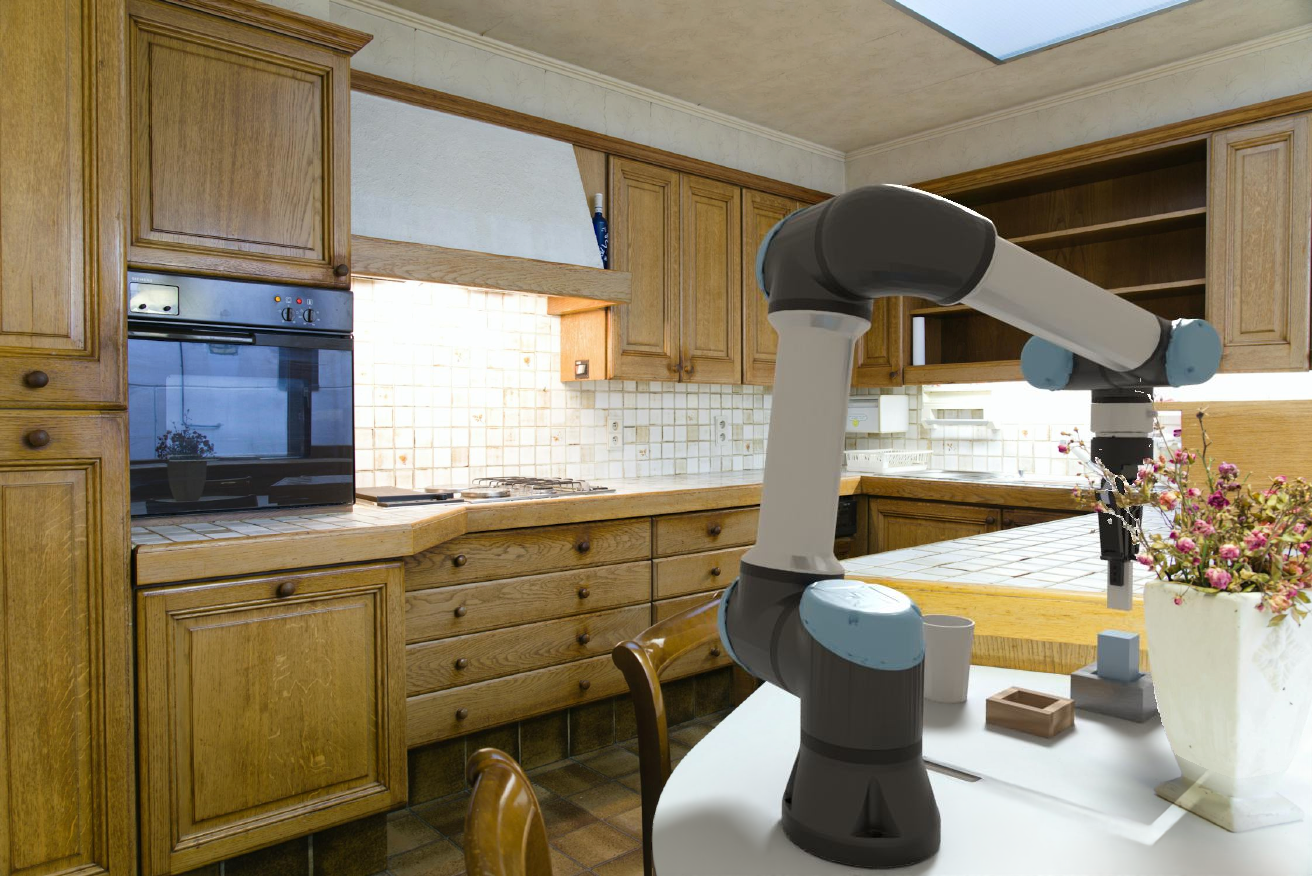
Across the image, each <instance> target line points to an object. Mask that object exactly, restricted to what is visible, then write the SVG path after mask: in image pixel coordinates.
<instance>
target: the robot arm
mask: <svg viewBox="0 0 1312 876" xmlns="http://www.w3.org/2000/svg"><path fill="white" fill-rule="evenodd" d="M755 275H756V282H757V285H758V287H759V290H761V291H762V293H763V297H764V299H765V301H766V302H767V303H768V310H767V317H766V319H767V321H768V323H769V324H770V326H771V327H773V329H774V330H775V331H776V334H777V335H778V339H777V340H778V341H777V350H776V358H775V359H776V361H775V370H774V378H773V385H772V387H773V388H772V396H771V404H770V406H771V407H770V414H769V415H770V416H769V423H768V431H767V433H768V434H767V443H766V451H765V460H764V470H763V477H762V488H761V496H760V497H761V499H760V506H759V515H758V525H757V532H756V533H757V534H756V542H755V543H754V545H753V547H751V548H750V549H748V550H747V551H746V552H745V553H744V554H742V555H741V558H740V566H739V573H738V574H739V575H738V576H737V577H735V578H734V579H733V580H732V583H730V585H729V586H727V587H726V588H725V589H724V591H723V594H722V596H721V598H720V601H719V603H718V608H717V619H716V620H717V629H718V630H717V631H718V633H719V638H720V640H721V643H722V645H723V647H724V649H725V650H726V652H727V654H728V655H729V657H730V658H732V659H733V661H734V662H736V663H737V664H738V665H739V666H741V667H742V668H743V670H745V671H746V672H748V673H749V674H750V675H752V676H753V677H755V678H757V679H760V680H762V681H764V682H765V681H766V682H768V683H769V684H771V685H773V686H775V687H778V688H779V689H781V690H783V691H785V692H787V693H789V694H791V695H793V696H795V697H797V698H799V699H800V702H799V703H800V705H799V707H800V711H799V712H800V714H799V717H800V718H799V720H800V722H799V724H800V726H799V731H800V733H799V734H800V736H799V741H800V742H799V748H798V751H797V754H796V757H795V760H794V763H793V764H792V765H793V766H792V768H791V770H790V775H789V776H788V780H787V783H786V787H785V790H784V792H783V794H782V799H781V821H780V822H781V827H782V829H783V832H784V833H785V834H786V836H787V838H788V839H789V840H791V842H793V843H794V844H796V845H797V846H798V847H799V848H801V849H803V850H805V851H807V852H808V853H811V854H812V855H815V856H818V857H820V858H822V859H826V860H828V861H832V862H836V863H840V864H845V865H851V866H856V867H857V866H858V867H863V868H864V867H865V868H866V867H867V868H894V867H895V868H896V867H903V866H909V865H913V864H916V863H919V862H922V861H925V860H926V859H928V858H930V857H931V856H933V855H934V854H935V853H936V852H937V851H938V849H939V848H940V846H941V843H942V842H941V841H942V840H941V839H942V838H941V837H942V834H941V832H942V823H941V822H942V819H941V818H942V817H941V813H940V810H939V806H938V805H937V801H936V798H935V794H934V790H933V786H932V784H931V780H930V776H929V774H928V771H927V770H928V769H926V767H925V764H924V761H923V759H924V757H923V736H924V735H923V734H924V731H923V730H924V703H925V702H924V701H925V700H924V699H925V698H924V670H925V648H926V642H925V638H924V632H923V618H922V615H923V614H922V611H921V609H920V607H919V605H918V604H917V603H916V602H915V600H914V599H911V597H909V596H907V595H906V594H905V593H903V592H900V590H899V591H898V590H896V589H893V588H892V587H888V586H885V585H883V584H878V583H867V582H865V581H862V580H855V579H845V573H846V569H845V568H844V566H843V565H842V563H841V562H840V561H839V559H837V557H836V556H835V553H834V547H835V546H834V545H835V535H836V526H837V517H838V508H839V500H840V488H841V482H842V481H841V480H842V470H843V460H844V452H845V441H846V434H847V433H846V432H847V421H848V413H849V403H850V394H851V386H852V385H851V384H852V375H853V374H852V373H853V366H854V357H855V355H854V354H855V345H856V342H857V340H858V339H859V338H861V337H862V336H863V335H864V334H866V333H867V332H868V331H869V330H870V329H871V328H872V318H873V311H874V300H878V299H880V298H885V297H895V296H896V297H897V296H898V297H901V296H908V297H915V298H916V297H918V298H922V299H926V300H929V301H931V302H934V303H936V304H938V305H940V306H947V307H948V306H953V305H956V304H959V303H960V304H964V305H965V306H967V307H970V308H972V309H974V310H976V311H979V312H980V313H983V314H986V315H988V316H990V317H992V318H995V319H997V320H999V321H1001V322H1004V323H1006V324H1009V326H1013V327H1015V328H1017V329H1020V330H1022V331H1024V332H1027V333H1028V334H1031V335H1033V336H1031V338H1029V339H1028V341H1027V342H1026V343H1025V345H1024V346H1023V348H1022V351H1021V355H1020V370H1021V374H1022V376H1023V378H1024V379H1025V381H1026V382H1027V383H1028V384H1029V386H1032V387H1033V388H1036V389H1039V390H1048V391H1050V392H1056V391H1057V392H1059V391H1091V392H1090V393H1091V394H1090V395H1091V396H1090V397H1091V399H1090V400H1091V401H1090V426H1089V427H1090V432H1091V433H1094V436H1092V438H1091V439H1090V462H1091V463H1092V464H1093V465H1095V464H1096V465H1098V464H1097V463H1096V461H1095V457H1098V458H1099V459H1101V462H1102V464H1101V465H1103V467H1104V466H1105V468H1107V469H1109V471H1110V472H1112V473H1113V474H1115V475H1123V476H1124V477H1125V478H1126V480H1127V482H1128V483H1129V485H1132V484H1133V483H1134V481H1135V480H1136V479H1137V473H1138V472H1139V471H1140V470H1139V466H1145V465H1144V464H1143V459H1145V458H1150V459H1152V460H1153V461H1154V447H1155V446H1154V445H1155V444H1154V442H1155V440H1154V439H1152V438H1153V437H1149V434H1151V433H1153V432H1154V419H1156V418H1157V417H1158V416H1159V412H1158V411H1157V410H1155V409H1153V406H1154V403H1155V397H1154V388H1175V389H1176V388H1177V389H1178V388H1180V387H1183V386H1184V387H1185V386H1195V385H1201V384H1204V383H1207V382H1208V381H1210V380H1211V379H1212V378H1214V376H1215V375H1216V374H1217V371H1218V369H1219V367H1220V366H1221V365H1220V364H1221V357H1222V356H1223V346H1222V340H1221V337H1220V335H1219V332H1218V331H1217V329H1216V328H1215V327H1214V325H1212V323H1210V322H1208V321H1207V320H1204V319H1200V318H1195V319H1194V318H1192V319H1186V318H1179V319H1176V320H1169V319H1165V318H1163V317H1161V316H1159V315H1157V314H1154V313H1152V312H1151V311H1148V310H1146V309H1144V308H1143V307H1140V306H1138V305H1136V304H1134V303H1133V302H1130V301H1129V300H1127V299H1124V298H1122V297H1120V296H1118V295H1116V294H1115V293H1112V292H1110V291H1108V290H1106V289H1105V288H1102V287H1100V286H1098V285H1097V284H1095V283H1092V282H1090V281H1088V280H1086V279H1084V278H1082V277H1081V276H1078V275H1076V274H1074V273H1072V272H1070V271H1068V270H1066V269H1064V268H1062V267H1061V266H1058V265H1056V264H1054V263H1052V262H1050V261H1048V260H1046V259H1045V258H1042V257H1040V256H1038V255H1036V254H1034V253H1033V252H1030V251H1028V250H1026V249H1024V248H1023V247H1021V246H1018V245H1016V244H1015V243H1012V242H1010V241H1009V240H1007V239H1004V238H1002V237H1001V236H999V235H998V231H997V228H996V226H995V224H994V223H993V221H992V220H990V219H989V218H987V217H986V216H983V215H981V214H979V213H977V212H976V211H974V210H971V209H970V208H967V207H966V206H963V205H961V204H958V203H956V202H953V201H951V200H948V199H946V198H943V197H942V196H938V195H936V194H932V193H930V192H926V191H923V190H920V189H916V188H912V187H908V186H904V185H903V186H902V185H898V184H888V183H878V184H877V183H873V184H871V183H870V184H866V185H860V186H857V187H854V188H852V189H849V190H847V191H846V192H844V193H842V194H840V195H836V196H834V197H831V198H829V199H827V200H823V201H822V202H819V203H817V204H814V205H810V206H805V207H802V208H800V209H797V210H795V211H793V212H791V213H790V214H788V215H787V216H786V217H784V218H783V219H781V220H780V221H779V222H777V223H776V224H775V225H773V226H772V227H771V228H770V230H769V231H768V232H767V234H766V235H765V236H764V238H763V240H762V242H761V244H760V246H759V249H758V251H757V255H756V259H755ZM1140 378H1141V382H1140ZM1135 390H1136V391H1141V392H1144V393H1141V392H1135ZM1147 394H1150V395H1151V399H1152V400H1153V406H1152V404H1151V401H1150V399H1149V397H1148V395H1147ZM1154 410H1155V411H1154ZM1103 433H1105V434H1106V435H1103ZM1150 444H1151V445H1150ZM1149 445H1150V447H1149ZM1099 449H1102V450H1099ZM1139 473H1140V472H1139ZM1115 482H1116V486H1117V489H1118V491H1119V493H1121V494H1122V495H1124V493H1125V490H1124V483H1123V481H1122V480H1121V479H1120V478H1118V477H1116V478H1115ZM1095 489H1097V490H1105V489H1108V490H1112V485H1110V483H1109V482H1107V481H1106V480H1105V479H1104V478H1103V477H1101V479H1100V488H1098V487H1096V488H1095ZM1108 490H1106V492H1105V493H1096V492H1095V490H1094V492H1093V493H1094V499H1095V502H1096V501H1099V500H1101V501H1102V502H1103V503H1105V504H1106V506H1107V507H1108V508H1112V509H1113V510H1114V511H1115V514H1116V515H1120V516H1123V518H1124V520H1125V521H1126V522H1127V524H1129V525H1132V526H1133V527H1136V521H1135V520H1134V518H1136V519H1138V518H1139V519H1140V527H1141V528H1142V523H1143V513H1144V512H1143V511H1144V505H1143V506H1141V507H1140V506H1131V507H1129V511H1130V513H1131V514H1132V515H1133V517H1134V518H1132V517H1131V516H1130V514H1129V513H1127V511H1126V510H1124V508H1120V507H1117V504H1116V502H1117V501H1116V498H1115V496H1114V494H1113V492H1112V491H1108ZM1097 516H1098V517H1097V518H1098V519H1097V520H1098V521H1097V522H1098V531H1099V545H1100V556H1099V558H1100V560H1101V561H1107V572H1106V573H1107V575H1106V576H1107V582H1106V583H1107V585H1106V589H1107V590H1106V609H1112V610H1118V611H1123V612H1124V611H1126V612H1130V611H1132V610H1133V587H1134V585H1133V583H1134V581H1133V580H1134V578H1133V577H1134V575H1133V574H1134V571H1133V570H1134V562H1138V561H1137V559H1136V556H1137V555H1138V554H1139V553H1140V544H1141V543H1139V544H1136V545H1133V544H1132V542H1133V540H1132V537H1131V533H1130V531H1129V530H1127V529H1126V528H1123V527H1122V526H1123V521H1122V520H1121V518H1119V517H1116V516H1115V515H1112V514H1109V513H1103V512H1101V511H1099V510H1098V509H1097ZM1110 518H1111V519H1112V524H1109V523H1108V521H1107V520H1108V519H1110ZM1136 536H1138V534H1137V530H1136Z"/></svg>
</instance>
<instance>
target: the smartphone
mask: <svg viewBox="0 0 1312 876" xmlns="http://www.w3.org/2000/svg"><path fill="white" fill-rule="evenodd" d="M923 761H924V764H925V767H926V770H929V771H931V772H936V773H938V774H942V775H944V776H945V775H946V776H948V777H951V778H954V779H957V780H962V781H963V782H968V783H976V782H979V781H980V780H981V779H983V778H982V777H980V776H977V775H974V774H972V773H968V772H965V771H961V770H958V769H955V768H952V767H950V766H949V767H948V766H945V765H942V764H939V763H936V762H933V761H930V760H926V759H924V758H923Z"/></svg>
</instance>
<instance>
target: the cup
mask: <svg viewBox="0 0 1312 876" xmlns="http://www.w3.org/2000/svg"><path fill="white" fill-rule="evenodd" d="M922 618H923V632H924V638H925V642H926V648H925V670H924V699H926V700H930V701H932V702H938V703H941V704H944V703H945V704H958V703H959V704H960V703H963V702H965V701H967V700H968V690H969V681H970V680H969V679H970V670H971V669H970V668H971V658H972V650H973V649H972V648H973V643H974V636H975V635H974V634H975V626H976V625H975V624H976V622H975V620H973V619H970V618H967V617H963V616H958V615H953V614H952V615H951V614H943V613H941V614H939V613H936V614H935V613H933V614H931V613H930V614H929V613H928V614H922Z"/></svg>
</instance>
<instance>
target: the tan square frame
mask: <svg viewBox="0 0 1312 876" xmlns="http://www.w3.org/2000/svg"><path fill="white" fill-rule="evenodd" d="M1075 710H1076V708H1075V700H1072V699H1070V698H1067V697H1064V696H1058V695H1054V694H1051V693H1045V692H1041V691H1036V690H1032V689H1027V688H1024V687H1019V686H1015V685H1012V686H1010V687H1008V688H1006V689H1004V690H1002V691H1000V692H997V693H996V694H995V693H994V694H993V695H991V696H988V697H987V698H985V723H986V724H991V725H994V726H998V727H1002V728H1006V729H1010V730H1013V731H1016V732H1017V731H1018V732H1021V733H1025V734H1028V735H1032V736H1036V737H1039V738H1044V739H1046V740H1047V739H1048V740H1050V739H1052V738H1053V737H1054V736H1056V735H1058V734H1060V733H1061V732H1063V731H1065V730H1066V729H1068V728H1069V727H1071V726H1073V725H1075Z"/></svg>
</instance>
